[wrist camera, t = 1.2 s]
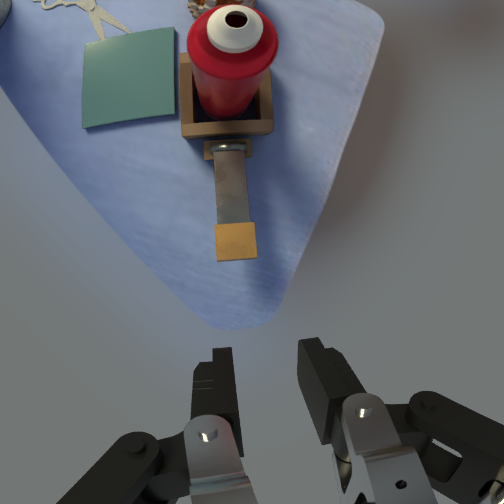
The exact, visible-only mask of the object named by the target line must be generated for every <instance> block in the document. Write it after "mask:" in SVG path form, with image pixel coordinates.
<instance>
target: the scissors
mask: <svg viewBox="0 0 504 504" xmlns="http://www.w3.org/2000/svg"><path fill="white" fill-rule="evenodd" d="M33 1H34V2H36V1H42V2H41V6H42V7H43V8H44V9H45V10H47V9H52V8H54V7H56V6H57V5H62V4H64V5H65V6H66V7H67V6H69V5H74V4H76V5H78V6H79V7H81V8H82V9H84V10H86V11H87V12H88V13H89V16H90V18H91V21H92V23H93V26H94V28H95V30H96V32H97V34H98V36H99V38H100V40H103V39H105V35H104V32H103V28H102V24H101V20H100V19H102V20H104V21H106V22H108V23H110V24H112V25H114V26H116V27H118V28H120V29H122V30H124V31H125V32H127V33H129V34H131V32H130V31H129V30H128V29H127V28H125V27H124V26H123V25H122V24H121V23H119V22H118V21H117V20H116V19H115V18H113V17H112V16H111V15H110V14H108V13H107V12H106V11H104V10H103V9H102V8H100V7H99V6H97V5H96V2H95V0H83V1H73V2H65V1H63V0H57V1H56V2H55V3H54V4H53V5H50V6H46V5H45V1H46V0H33Z"/></svg>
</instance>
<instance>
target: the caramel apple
mask: <svg viewBox="0 0 504 504" xmlns="http://www.w3.org/2000/svg"><path fill="white" fill-rule="evenodd" d="M188 1H189V4H188V8H190V13H193V15H192V16H193V17H195V18H198V17H199V16H201V15H202V14H203V13H205V12H206V11H208V10H210V9H212V8H214V7H217V6H221V5H227V4H239V5H245V6H249V7H252V8H254V7H255V5H256V2H255V1H256V0H188Z"/></svg>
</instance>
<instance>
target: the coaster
mask: <svg viewBox="0 0 504 504" xmlns="http://www.w3.org/2000/svg"><path fill="white" fill-rule="evenodd" d="M174 42H175V29H174V27H168V28H161V29H154V30H148V31H142V32H136V33H131V34H126V35H121V36H116V37H112V38H107V39H103V40H99V41H95V42H91V43H88V44H85V51H84V65H83V87H82V128H83V129H87V128H92V127H97V126H102V125H107V124H112V123H118V122H124V121H130V120H137V119H144V118H151V117H158V116H167V115H175V114H176V112H175V66H174Z"/></svg>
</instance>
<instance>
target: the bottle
mask: <svg viewBox="0 0 504 504" xmlns="http://www.w3.org/2000/svg"><path fill="white" fill-rule="evenodd" d="M278 46H279V39H278V34H277V31H276V29H275V26H274V25H273V23H272V22H271V21H270V20H269V19H268V18H267V17H266V16H265V15H264V14H263V13H261V12H260V11H258V10H256V9H254V8H252V7H249V6H245V5H239V4H227V5H221V6H217V7H214V8H212V9H210V10H208V11H206V12H205V13H203V14H202V15H201V16H199V17H198V18H197V19H196V20H195V22H194V23H193V24H192V26H191V28H190V30H189V32H188V36H187V51H188V55H189V59H190V63H191V67H192V71H193V75H194V79H195V83H196V87H197V91H198V95H199V99H200V103H201V106H202V108H203V110H204V111H205V113H206V114H207V115H209V116H210V117H211V118H213V119H216V120H220V121H229V120H233V119H235V118H237V117H239V116H240V115H242V114H243V113H244V111H245V110H246V108H247V107H248V105H249V103H250V101H251V99H252V98H253V96H254V94H255V92H256V90H257V89H258V87H259V85H260V83H261V82H262V80H263V78H264V76H265V75H266V73H267V71H268V69H269V68H270V66H271V64H272V63H273V61H274V59H275V57H276V55H277V52H278Z"/></svg>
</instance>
